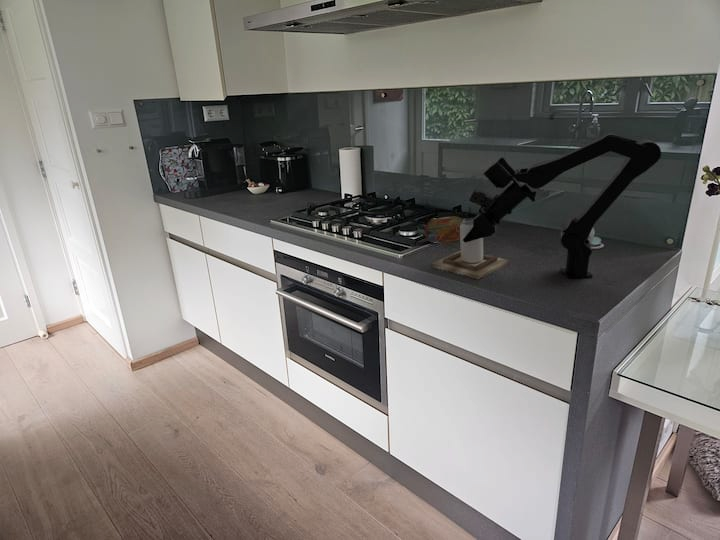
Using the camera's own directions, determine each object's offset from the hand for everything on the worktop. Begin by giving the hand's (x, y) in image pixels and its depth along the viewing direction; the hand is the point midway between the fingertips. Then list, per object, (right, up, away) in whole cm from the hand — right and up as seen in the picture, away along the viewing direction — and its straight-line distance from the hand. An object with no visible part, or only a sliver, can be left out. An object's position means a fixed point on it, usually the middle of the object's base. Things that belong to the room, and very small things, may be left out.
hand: (466, 236), depth 142 cm
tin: (-2, 0, +26) cm, 26 cm away
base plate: (+2, -8, +3) cm, 9 cm away
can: (+2, -7, +3) cm, 8 cm away
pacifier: (+43, -2, +14) cm, 46 cm away
